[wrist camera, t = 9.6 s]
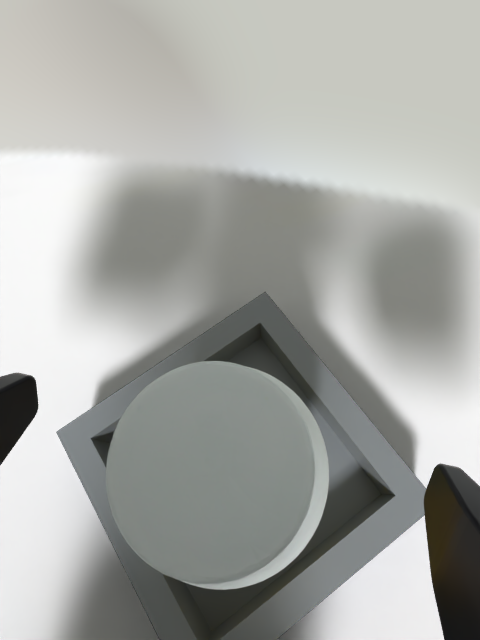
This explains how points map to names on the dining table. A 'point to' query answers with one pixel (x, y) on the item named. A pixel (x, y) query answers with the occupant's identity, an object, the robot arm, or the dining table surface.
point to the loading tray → (340, 509)
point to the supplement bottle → (217, 475)
